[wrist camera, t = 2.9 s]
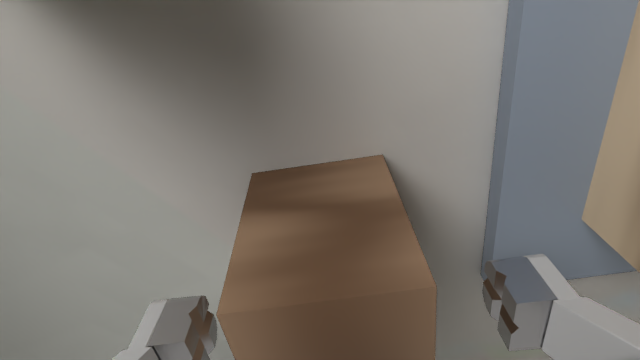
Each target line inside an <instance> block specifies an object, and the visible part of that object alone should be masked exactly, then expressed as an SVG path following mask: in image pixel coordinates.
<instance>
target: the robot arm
mask: <svg viewBox="0 0 640 360" xmlns="http://www.w3.org/2000/svg"><path fill="white" fill-rule="evenodd" d="M484 272H485V274H486V275H487V277H488V278H487V279H486V280H485V281H484V282H483V290H482V292H483V298H484V302H485V305H486V308H487V310H488V312H489V314H490V316H491V317H493V318H494V319H496V320H497V321H499V322H498V332H499V334H500V335H501V337H502V339H503V341H504V343H505V345H506V347H507V349H508V351H515V350H527V349H540V348H542V351H543V352H545V353H546V354H547V355H548V356H550V357H551V358H552V359H553V360H640V324H639V323H637V322H635V321H633V320H631V319H629V318H627V317H625V316H623V315H621V314H619V313H617V312H615V311H613V310H611V309H609V308H607V307H605V306H603V305H601V304H600V303H598V302H596V301H594V300H592V299H590V298H588V297H580V296H579V295H578V294H577V292H576V291H575V290H574V289H573V288H572V286H571V285H570V284H569V283H568V282H567V280H566V279H565V278H564V277H563V276H562V274H561V273H560V272H559V271H558V269H557V268H556V267H555V266H554V265H553V263H552V262H551V261H550V260H549V259H548V257H547V256H546V255H544V254H535V255H527V256H523V257H522V256H520V257H512V258H504V259H497V260H489V261H487V262H486V264H485V268H484ZM208 306H209V303H208V301H207V299H206V296H192V297H181V298H171V299H164V300H154V301H152V302H151V303H150V304H149V306H148V308H147V310H146V312H145V314H144V316H143V318H142V320H141V322H140V324H139V326H138V328H137V330H136V332H135V334H134V336H133V339H132V341H131V343H130V345H129V347H128V349H126V350H122V351H121V352H119V353H118V354H117V355H116V356H115V357H114V358H113V359H111V360H210V358H209V356H208V354H209V353H210V352H211V351H212V350H213V349H214V348H215V344H216V340H217V324H216V320H215V317H214V315H213V314H212V313H210V312H209V311H207V310H208Z"/></svg>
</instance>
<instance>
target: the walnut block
mask: <svg viewBox="0 0 640 360" xmlns="http://www.w3.org/2000/svg"><path fill="white" fill-rule="evenodd" d="M436 298H437V286H436V284H435V281H434V279H433V276H432V274H431V271H430V269H429V267H428V264H427V262H426V259H425V257H424V254H423V252H422V250H421V247H420V245H419V242H418V240H417V237H416V235H415V232H414V230H413V228H412V225H411V223H410V220H409V218H408V215H407V213H406V211H405V208H404V206H403V203H402V201H401V198H400V196H399V194H398V191H397V189H396V186H395V184H394V181H393V179H392V176H391V174H390V172H389V169H388V167H387V164H386V162H385V159H384V157H383V155H377V156H370V157H363V158H356V159H349V160H342V161H335V162H328V163H321V164H314V165H307V166H300V167H293V168H286V169H279V170H272V171H265V172H258V173H252V176H251V180H250V184H249V188H248V192H247V196H246V200H245V204H244V207H243V211H242V215H241V219H240V223H239V227H238V231H237V235H236V239H235V243H234V247H233V251H232V255H231V259H230V263H229V267H228V271H227V275H226V279H225V283H224V287H223V291H222V295H221V299H220V303H219V307H218V311H217V318H218V320H219V322H220V325H221V327H222V330H223V332H224V334H225V337H226V339H227V341H228V344H229V346H230V349H231V351H232V353H233V356H234V358H235V360H435V343H436Z"/></svg>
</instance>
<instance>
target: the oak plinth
mask: <svg viewBox="0 0 640 360" xmlns="http://www.w3.org/2000/svg"><path fill="white" fill-rule="evenodd" d="M582 220H583V221H584V222H585V223H586V224H587V225H588V226H589V227H590V228H591V229H593V230H594V231H595V232H596V233H597V234H598V235H599V236H600V237H601V238H602V239H603V240H604V241H606V242H607V243H608V244H609V245H610V246H611V247H612V248H613V249H614V250H615V251H616V252H618V253H619V254H620V255H621V256H622V257H623V258H624V259H625V260H626V261H627V262H628V263H629V264H631V265H632V266H633V267H634V268H635V269H636V270H637V271H638V272H639V273H640V0H639V2H638V6H637V9H636V13H635V17H634V21H633V25H632V28H631V32H630V36H629V40H628V44H627V47H626V51H625V55H624V59H623V63H622V67H621V70H620V74H619V78H618V82H617V86H616V89H615V93H614V97H613V101H612V105H611V108H610V112H609V116H608V120H607V124H606V127H605V131H604V135H603V139H602V143H601V146H600V150H599V154H598V158H597V162H596V165H595V169H594V173H593V177H592V181H591V184H590V188H589V192H588V196H587V200H586V203H585V207H584V211H583V215H582Z"/></svg>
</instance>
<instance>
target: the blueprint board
mask: <svg viewBox="0 0 640 360" xmlns="http://www.w3.org/2000/svg"><path fill="white" fill-rule="evenodd" d="M638 2H639V0H509V7H508V16H507V26H506V36H505V45H504V55H503V65H502V74H501V84H500V94H499V104H498V113H497V123H496V133H495V142H494V152H493V162H492V171H491V181H490V191H489V200H488V210H487V220H486V229H485V239H484V249H483V259H482V268H481V276H482V278H483V280H484V281H485V280H486V279H487V278H488V277H487V275H486V274H485V272H484V268H485V264H486V262H487V261H489V260H497V259H504V258H512V257H520V256H522V257H523V256H527V255H535V254H544V255H546V256H547V257H548V259H549V260H550V261H551V262H552V263H553V265H554V266H555V267H556V268H557V269H558V271H559V272H560V273H561V274H562V276H563V277H564V278H565V279H566V280H569V279H577V278H585V277H592V276H600V275H608V274H616V273H624V272H632V271H637V270H636V269H635V268H634V267H633V266H632V265H631V264H629V263H628V262H627V261H626V260H625V259H624V258H623V257H622V256H621V255H620V254H619V253H618V252H616V251H615V250H614V249H613V248H612V247H611V246H610V245H609V244H608V243H607V242H606V241H604V240H603V239H602V238H601V237H600V236H599V235H598V234H597V233H596V232H595V231H594V230H593V229H591V228H590V227H589V226H588V225H587V224H586V223H585V222H584V221H583V220H582V215H583V211H584V207H585V203H586V200H587V196H588V192H589V188H590V184H591V181H592V177H593V173H594V169H595V165H596V162H597V158H598V154H599V150H600V146H601V143H602V139H603V135H604V131H605V127H606V124H607V120H608V116H609V112H610V108H611V105H612V101H613V97H614V93H615V89H616V86H617V82H618V78H619V74H620V70H621V67H622V63H623V59H624V55H625V51H626V47H627V44H628V40H629V36H630V32H631V28H632V25H633V21H634V17H635V13H636V9H637V6H638Z"/></svg>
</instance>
